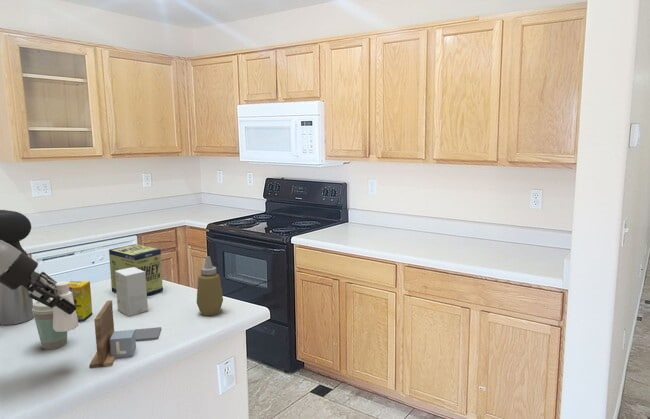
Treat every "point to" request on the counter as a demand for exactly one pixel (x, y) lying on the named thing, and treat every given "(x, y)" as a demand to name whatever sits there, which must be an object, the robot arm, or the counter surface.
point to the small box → (131, 291)
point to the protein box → (138, 265)
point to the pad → (147, 334)
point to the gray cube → (123, 343)
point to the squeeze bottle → (209, 290)
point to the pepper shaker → (61, 318)
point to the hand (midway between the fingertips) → (73, 307)
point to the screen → (103, 337)
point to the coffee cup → (47, 327)
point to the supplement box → (82, 298)
